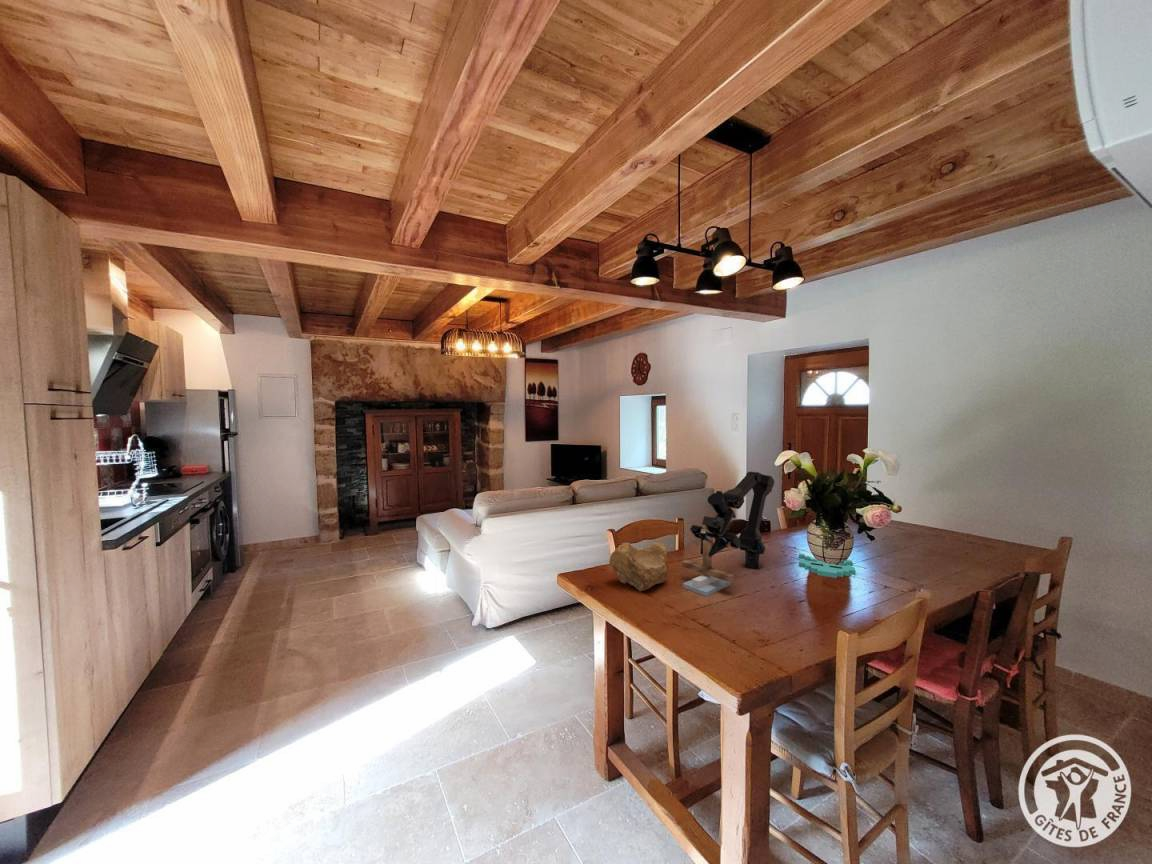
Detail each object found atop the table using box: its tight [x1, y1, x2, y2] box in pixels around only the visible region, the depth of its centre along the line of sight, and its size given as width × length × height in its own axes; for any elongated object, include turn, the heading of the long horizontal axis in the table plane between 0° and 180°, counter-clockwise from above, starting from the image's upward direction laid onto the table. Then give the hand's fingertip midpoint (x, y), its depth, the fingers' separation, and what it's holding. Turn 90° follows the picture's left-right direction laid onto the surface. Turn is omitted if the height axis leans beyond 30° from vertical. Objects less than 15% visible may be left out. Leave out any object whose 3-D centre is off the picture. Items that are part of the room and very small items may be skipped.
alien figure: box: [798, 552, 856, 579], centre depth 177 cm, size 20×2×20 cm
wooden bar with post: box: [681, 539, 735, 583], centre depth 159 cm, size 20×3×12 cm, turn 40°
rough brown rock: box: [609, 542, 669, 592], centre depth 160 cm, size 23×17×15 cm
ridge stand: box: [682, 573, 732, 597], centre depth 159 cm, size 16×10×4 cm, turn 130°
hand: (705, 555), depth 158 cm, fingers closed on wooden bar with post, 3 cm apart
